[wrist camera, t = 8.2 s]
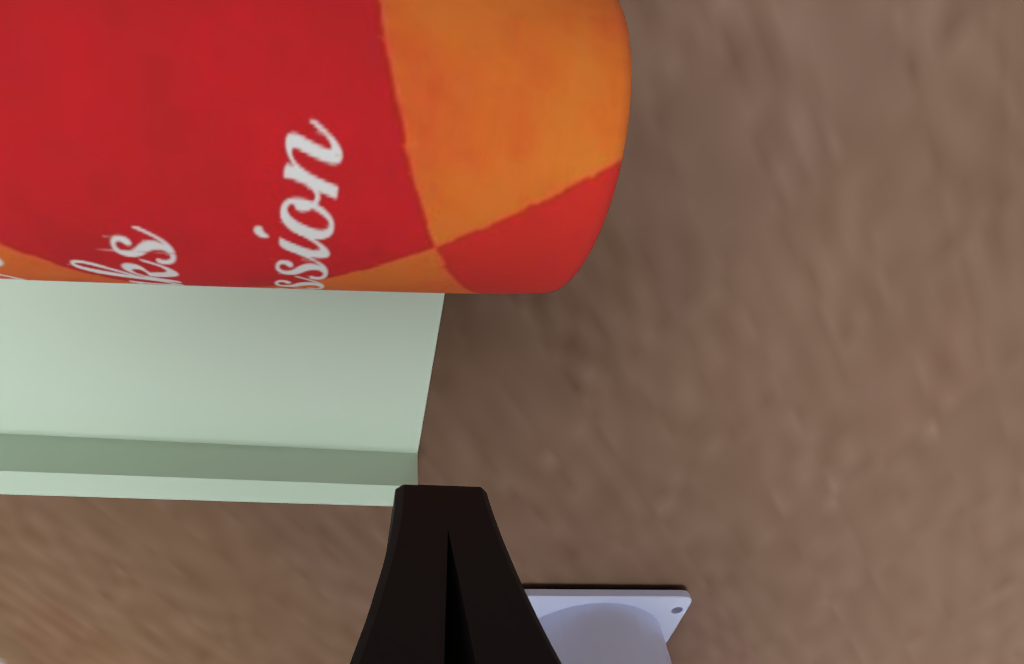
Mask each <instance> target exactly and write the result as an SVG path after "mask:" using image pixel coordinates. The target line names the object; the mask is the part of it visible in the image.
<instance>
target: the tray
mask: <svg viewBox="0 0 1024 664" xmlns="http://www.w3.org/2000/svg"><path fill="white" fill-rule="evenodd" d="M444 295H445V293H414V292H377V291H341V290H308V289H277V288H246V287H215V286H184V285H153V284H124V283H96V282H67V281H38V280H10V279H0V494H16V495H48V496H80V497H111V498H143V499H175V500H207V501H239V502H271V503H303V504H335V505H367V506H393V502H394V495H395V489H396V488H398V487H400V486H402V485H403V484H406V485H418V455H417V453H418V447H419V442H420V436H421V430H422V424H423V418H424V412H425V406H426V401H427V395H428V389H429V383H430V377H431V371H432V365H433V360H434V354H435V348H436V342H437V336H438V330H439V324H440V319H441V313H442V307H443V301H444Z"/></svg>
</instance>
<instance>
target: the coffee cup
mask: <svg viewBox="0 0 1024 664" xmlns="http://www.w3.org/2000/svg"><path fill="white" fill-rule="evenodd" d="M630 99H631V53H630V43H629V35H628V30H627V24H626V21H625V17H624V14H623V11H622V8H621V6H620V3H619V1H618V0H0V279H10V280H38V281H67V282H96V283H124V284H153V285H184V286H215V287H246V288H277V289H308V290H341V291H377V292H414V293H460V294H536V293H547V292H553V291H555V290H558V289H559V288H561V287H563V286H564V285H565V284H566V283H568V282H569V281H570V280H571V279H572V278H573V276H574V275H575V274H576V273H577V272H578V270H579V269H580V267H581V266H582V265H583V263H584V261H585V260H586V258H587V257H588V255H589V253H590V251H591V249H592V247H593V245H594V243H595V241H596V239H597V237H598V235H599V233H600V230H601V228H602V226H603V223H604V220H605V218H606V215H607V212H608V209H609V206H610V203H611V200H612V197H613V194H614V190H615V187H616V183H617V179H618V175H619V171H620V167H621V162H622V158H623V152H624V147H625V141H626V135H627V128H628V120H629V111H630Z"/></svg>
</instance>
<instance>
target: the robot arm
mask: <svg viewBox="0 0 1024 664" xmlns="http://www.w3.org/2000/svg"><path fill="white" fill-rule="evenodd" d="M691 601H692V600H691V597H690V594H689V592H687V591H685V590H615V589H524V588H523V586H522V584H521V581H520V579H519V577H518V575H517V572H516V570H515V568H514V566H513V563H512V561H511V558H510V556H509V554H508V551H507V549H506V546H505V544H504V541H503V539H502V536H501V534H500V531H499V529H498V526H497V523H496V520H495V518H494V515H493V512H492V509H491V506H490V503H489V500H488V496H487V493H486V492H485V491H484V490H483V489H482V488H481V487H464V486H435V485H406V484H403V485H402V486H400V487H398V488H396V489H395V495H394V502H393V509H392V517H391V524H390V531H389V538H388V545H387V552H386V556H385V560H384V564H383V568H382V571H381V574H380V578H379V581H378V584H377V587H376V591H375V594H374V597H373V600H372V604H371V607H370V610H369V613H368V616H367V619H366V622H365V625H364V628H363V630H362V633H361V636H360V638H359V641H358V644H357V646H356V649H355V652H354V654H353V657H352V660H351V662H350V664H672V662H671V659H670V656H669V653H668V649H667V646H666V643H667V641H668V640H669V638H670V636H671V635H672V633H673V631H674V630H675V628H676V627H677V625H678V623H679V622H680V620H681V618H682V617H683V615H684V614H685V612H686V610H687V609H688V607H689V605H690V604H691Z"/></svg>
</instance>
